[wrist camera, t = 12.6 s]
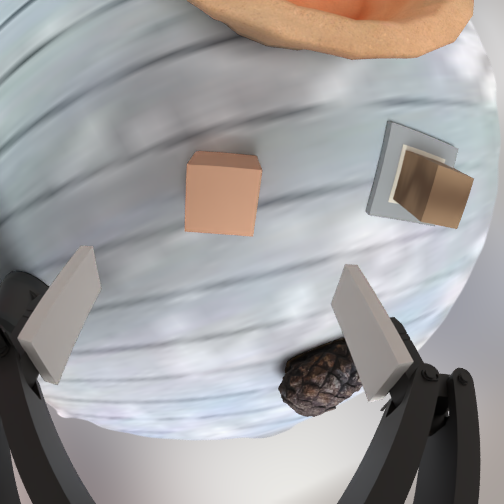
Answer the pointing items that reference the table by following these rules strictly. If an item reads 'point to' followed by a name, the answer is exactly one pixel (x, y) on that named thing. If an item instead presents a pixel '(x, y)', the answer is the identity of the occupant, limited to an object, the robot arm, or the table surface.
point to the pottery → (346, 24)
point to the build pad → (391, 165)
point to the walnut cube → (432, 190)
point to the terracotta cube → (222, 193)
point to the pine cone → (320, 379)
